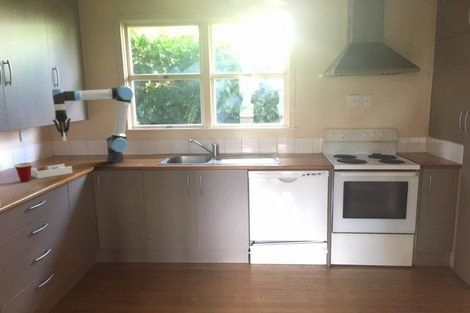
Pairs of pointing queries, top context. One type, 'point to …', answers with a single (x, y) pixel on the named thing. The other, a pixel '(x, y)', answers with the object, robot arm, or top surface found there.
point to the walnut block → (42, 168)
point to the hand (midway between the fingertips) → (64, 140)
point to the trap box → (51, 171)
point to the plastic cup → (24, 171)
